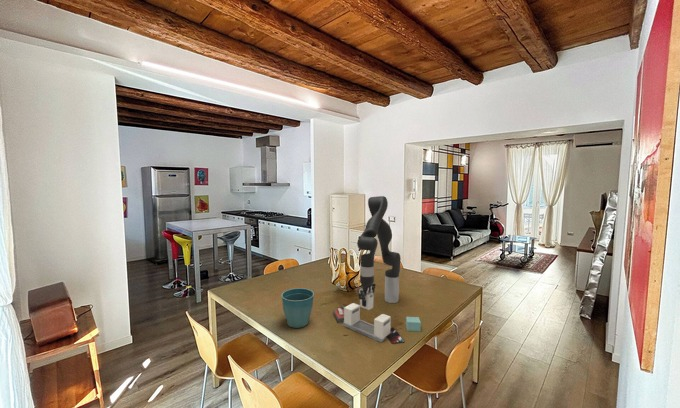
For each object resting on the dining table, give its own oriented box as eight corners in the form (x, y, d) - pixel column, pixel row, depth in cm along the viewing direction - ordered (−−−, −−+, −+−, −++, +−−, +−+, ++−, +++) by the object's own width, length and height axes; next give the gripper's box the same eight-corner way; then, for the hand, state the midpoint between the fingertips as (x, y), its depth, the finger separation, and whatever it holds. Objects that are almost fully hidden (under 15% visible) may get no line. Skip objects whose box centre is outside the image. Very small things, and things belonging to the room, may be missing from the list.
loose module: (364, 304, 158) (364, 290, 157) (373, 307, 154) (373, 293, 153) (359, 306, 155) (359, 292, 154) (369, 310, 151) (369, 295, 150)
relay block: (405, 325, 161) (418, 325, 160) (407, 330, 155) (420, 331, 154) (406, 316, 160) (418, 317, 160) (407, 322, 154) (420, 322, 154)
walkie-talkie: (352, 322, 164) (343, 306, 183) (352, 315, 163) (343, 300, 182) (338, 325, 161) (330, 308, 181) (337, 317, 161) (330, 302, 180)
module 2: (382, 329, 153) (382, 313, 153) (390, 333, 150) (390, 316, 149) (373, 335, 147) (374, 319, 147) (382, 339, 144) (382, 322, 143)
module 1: (352, 317, 166) (352, 302, 165) (359, 320, 163) (359, 305, 162) (343, 323, 160) (344, 307, 159) (351, 326, 157) (351, 310, 156)
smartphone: (393, 327, 158) (405, 342, 143) (393, 328, 158) (405, 343, 144) (381, 328, 156) (392, 343, 142) (381, 329, 157) (391, 345, 142)
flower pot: (299, 312, 176) (298, 285, 174) (320, 321, 164) (320, 293, 163) (275, 323, 162) (274, 294, 160) (297, 335, 150) (296, 303, 149)
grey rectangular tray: (353, 319, 167) (353, 316, 167) (391, 334, 151) (391, 331, 151) (342, 325, 160) (342, 323, 159) (381, 342, 143) (381, 339, 143)
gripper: (368, 269, 160) (368, 298, 162) (353, 275, 150) (352, 307, 151) (380, 272, 156) (379, 302, 157) (365, 279, 145) (364, 311, 146)
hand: (366, 304), depth 154 cm, fingers closed on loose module, 4 cm apart
